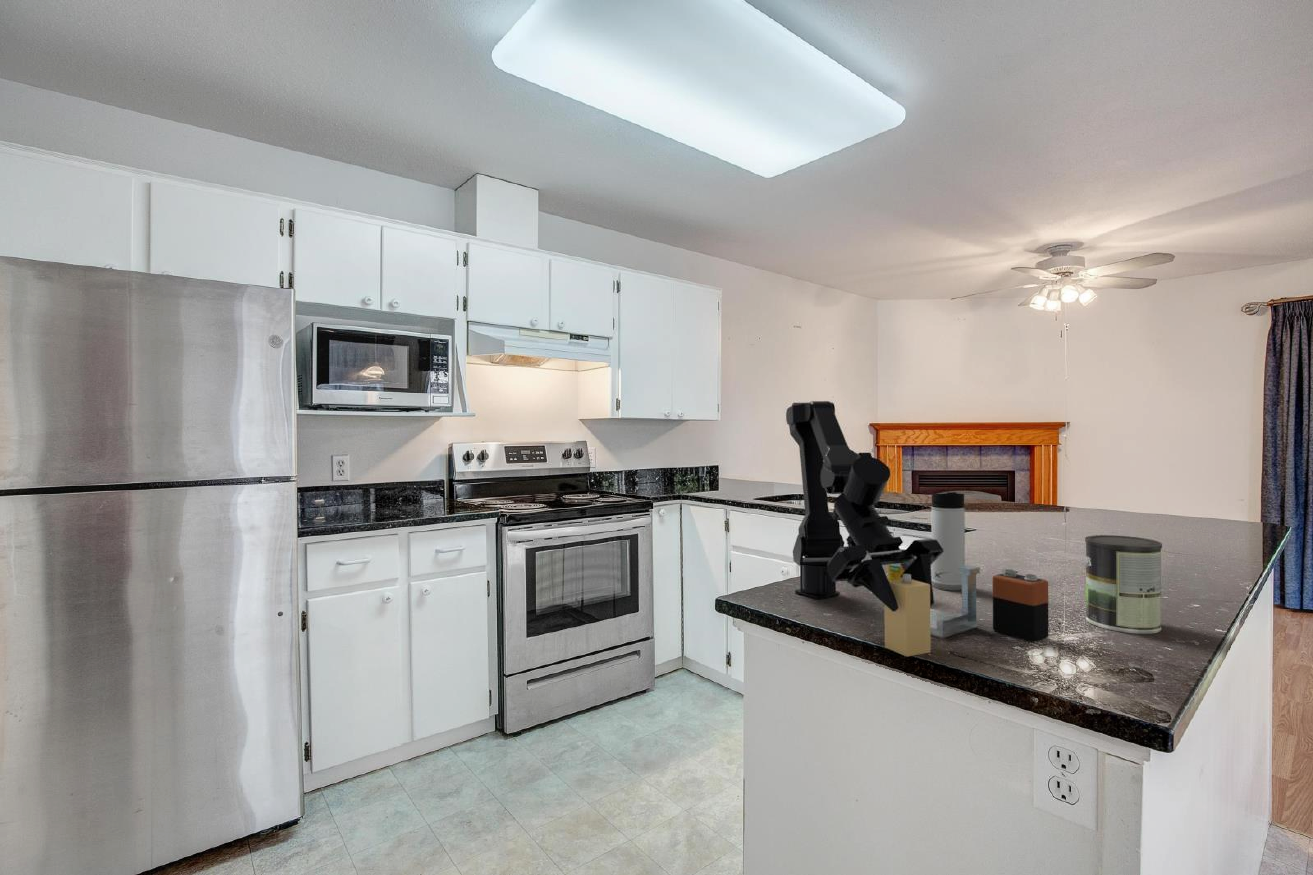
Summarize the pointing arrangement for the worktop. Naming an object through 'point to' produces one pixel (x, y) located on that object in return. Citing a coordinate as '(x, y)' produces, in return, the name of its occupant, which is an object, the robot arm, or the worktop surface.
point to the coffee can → (1123, 583)
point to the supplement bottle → (896, 568)
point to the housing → (908, 617)
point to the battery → (1020, 605)
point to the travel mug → (948, 539)
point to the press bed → (954, 624)
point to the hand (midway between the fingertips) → (913, 607)
